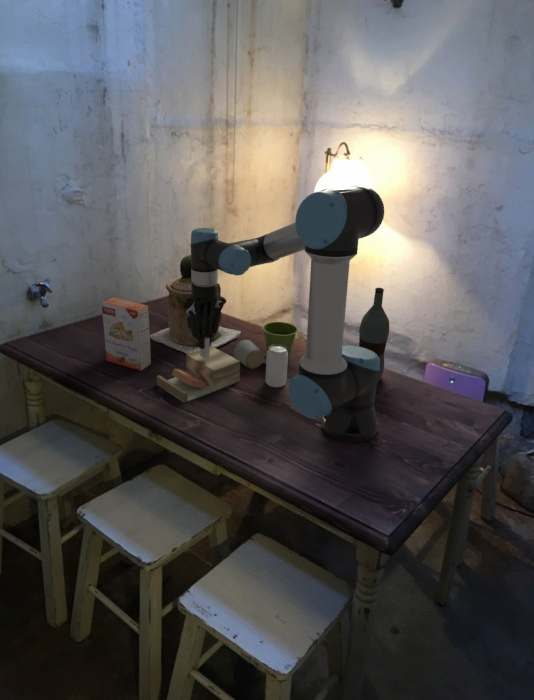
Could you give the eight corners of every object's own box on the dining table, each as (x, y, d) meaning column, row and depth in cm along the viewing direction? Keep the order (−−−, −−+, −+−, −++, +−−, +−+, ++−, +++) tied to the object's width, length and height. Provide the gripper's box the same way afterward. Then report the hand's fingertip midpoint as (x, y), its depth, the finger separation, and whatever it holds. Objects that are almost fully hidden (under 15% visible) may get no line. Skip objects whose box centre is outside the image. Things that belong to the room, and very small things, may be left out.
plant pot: (290, 369, 187) (292, 337, 183) (256, 362, 191) (257, 331, 186) (300, 354, 197) (302, 324, 193) (267, 348, 201) (269, 319, 196)
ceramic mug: (246, 372, 184) (247, 350, 181) (233, 362, 190) (233, 341, 187) (273, 365, 189) (274, 344, 186) (259, 356, 195) (260, 335, 192)
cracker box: (105, 362, 186) (100, 301, 177) (117, 355, 191) (113, 296, 182) (140, 372, 181) (136, 310, 172) (152, 364, 186) (149, 304, 177)
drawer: (214, 391, 172) (214, 382, 170) (184, 403, 165) (184, 393, 164) (186, 374, 181) (186, 365, 180) (157, 384, 174) (156, 376, 173)
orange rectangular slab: (192, 379, 167) (189, 385, 167) (206, 382, 172) (203, 388, 172) (174, 368, 173) (171, 374, 173) (188, 372, 178) (185, 378, 178)
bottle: (387, 383, 181) (400, 293, 168) (359, 385, 179) (370, 294, 166) (376, 370, 189) (388, 283, 177) (349, 371, 187) (359, 284, 175)
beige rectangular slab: (239, 381, 178) (240, 361, 175) (214, 391, 172) (214, 370, 169) (211, 365, 187) (211, 346, 184) (186, 374, 181) (186, 354, 178)
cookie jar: (146, 340, 204) (141, 252, 190) (192, 320, 222) (191, 239, 209) (198, 359, 191) (197, 267, 178) (243, 336, 210) (245, 251, 196)
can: (290, 383, 178) (292, 348, 173) (276, 390, 174) (278, 354, 169) (275, 376, 182) (277, 342, 177) (261, 382, 178) (262, 347, 173)
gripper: (214, 275, 171) (214, 347, 181) (178, 283, 162) (180, 358, 172) (230, 282, 166) (229, 355, 176) (194, 290, 157) (194, 367, 167)
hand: (204, 356), depth 174 cm, fingers closed
